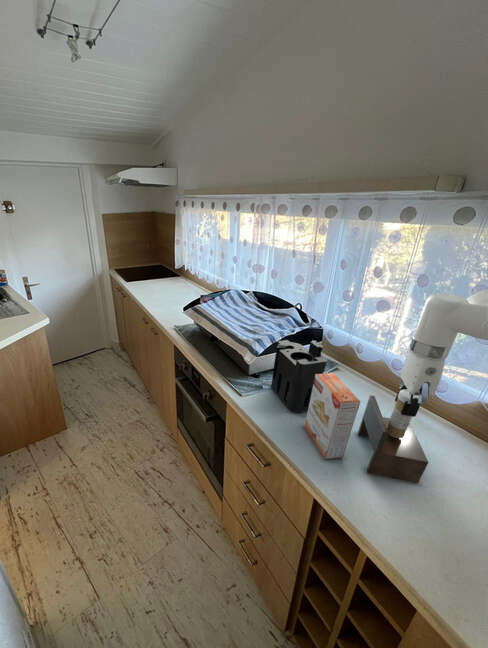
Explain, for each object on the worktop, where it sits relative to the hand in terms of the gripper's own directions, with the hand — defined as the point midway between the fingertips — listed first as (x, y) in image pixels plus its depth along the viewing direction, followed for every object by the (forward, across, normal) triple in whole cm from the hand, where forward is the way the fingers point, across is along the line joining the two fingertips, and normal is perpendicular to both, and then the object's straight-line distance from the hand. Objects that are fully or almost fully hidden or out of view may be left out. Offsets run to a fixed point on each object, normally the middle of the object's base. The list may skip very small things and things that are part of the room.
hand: (404, 408), depth 80 cm
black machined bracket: (+18, +23, +26) cm, 39 cm away
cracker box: (+18, +1, +17) cm, 25 cm away
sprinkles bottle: (+9, 0, 0) cm, 9 cm away
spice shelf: (+18, 0, 0) cm, 18 cm away
